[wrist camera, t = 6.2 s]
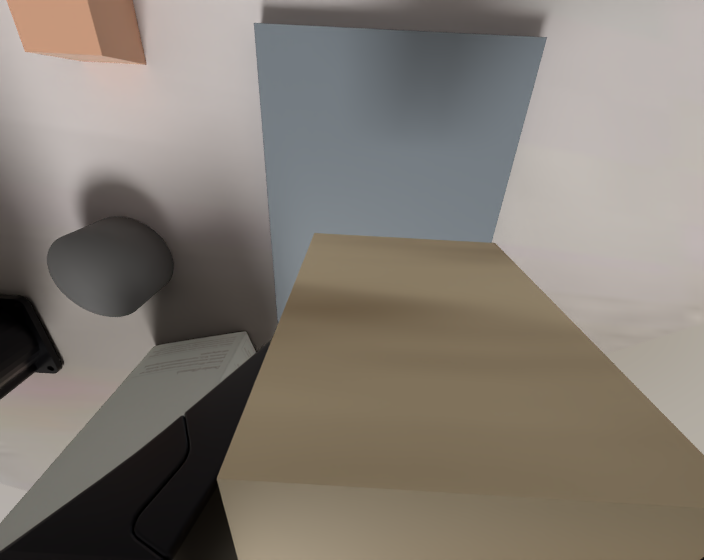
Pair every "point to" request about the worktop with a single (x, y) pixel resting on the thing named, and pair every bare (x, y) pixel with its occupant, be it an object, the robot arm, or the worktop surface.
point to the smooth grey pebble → (110, 265)
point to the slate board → (387, 133)
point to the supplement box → (130, 421)
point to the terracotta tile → (80, 29)
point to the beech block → (448, 422)
